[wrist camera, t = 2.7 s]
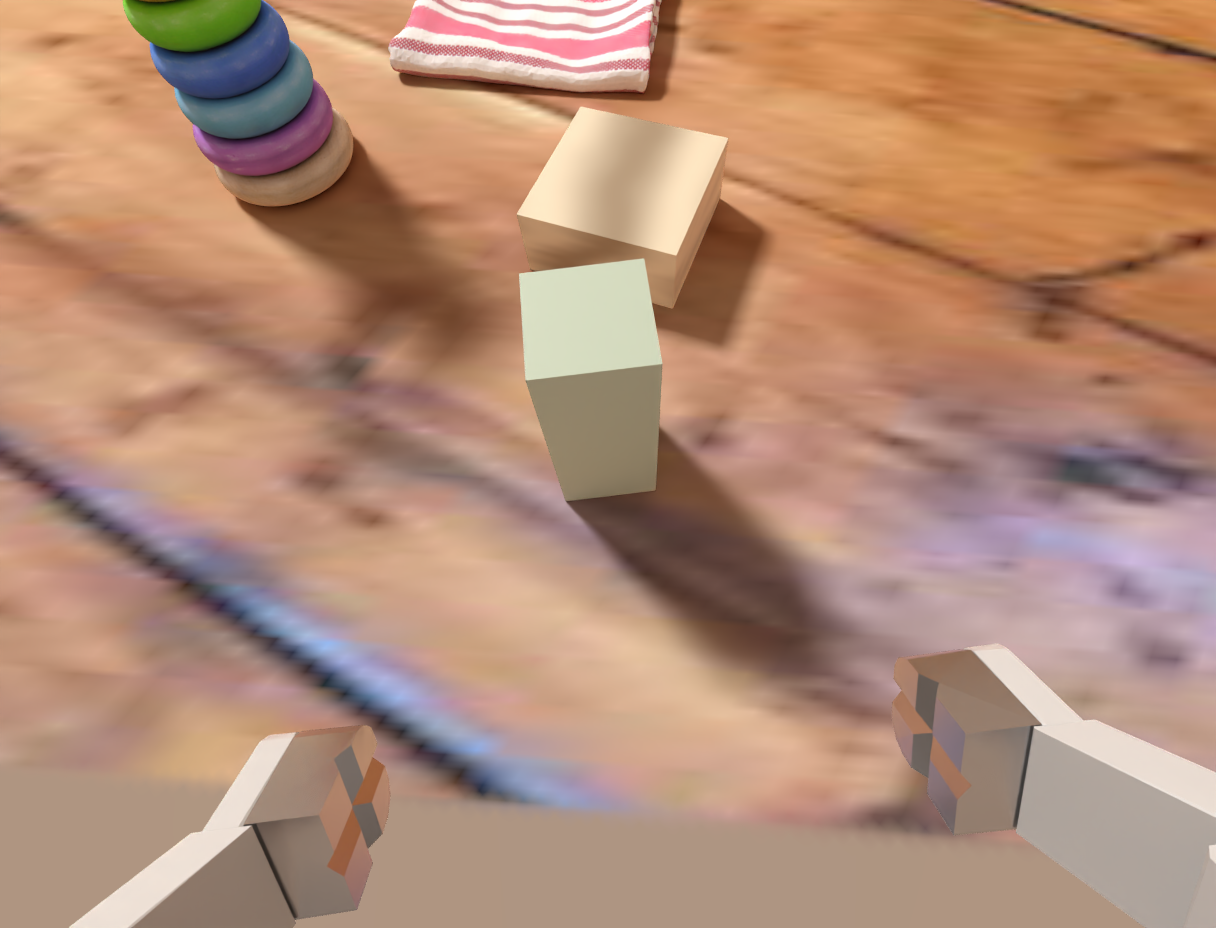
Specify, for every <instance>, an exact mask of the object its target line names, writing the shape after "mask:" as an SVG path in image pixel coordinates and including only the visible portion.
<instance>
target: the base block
mask: <svg viewBox="0 0 1216 928" xmlns="http://www.w3.org/2000/svg"><path fill="white" fill-rule="evenodd" d="M727 144H728V138H725V137H721V136H716V135H711V134H707V133H702V132H697V131H693V130H688V129H683V128H679V127H674V126H669V125H665V124H660V123H655V122H651V121H646V120H641V119H636V118H632V117H627V116H622V115H618V114H613V113H608V112H604V111H599V110H594V109H590V108H585V107H580V109H579V110H578V112H577V114H576V115H575V117H574V119H573V120H572V122H571V124H570V125H569V127H568V129H567V131H566V132H565V134H564V136H563V137H562V139H561V141H560V142H559V144H558V146H557V147H556V149H555V151H554V152H553V154H552V156H551V157H550V159H549V161H548V162H547V164H546V166H545V168H544V169H543V171H542V173H541V174H540V176H539V178H538V179H537V181H536V183H535V184H534V186H533V188H532V189H531V191H530V193H529V194H528V196H527V198H526V199H525V201H524V203H523V205H522V206H521V208H520V210H519V211H518V213H517V218H518V222H519V226H520V230H521V234H522V238H523V242H524V247H525V251H526V255H527V259H528V263H529V267H530V269H531V270H535V271H545V270H553V269H561V268H570V267H578V266H586V265H594V264H602V263H611V262H619V261H627V260H635V259H643V258H644V260H645V266H646V272H647V278H648V284H649V289H650V295H651V301H652V303H654V304H657V305H661V306H664V307H668V308H672V309H673V307H674V305H675V302H676V300H677V298H678V295H679V293H680V291H681V288H682V286H683V284H684V281H685V279H686V277H687V274H688V272H689V270H690V267H691V265H692V263H693V260H694V258H695V256H696V253H697V251H698V249H699V246H700V244H701V242H702V239H703V237H704V235H705V232H706V230H707V228H708V225H709V223H710V221H711V218H712V216H713V214H714V211H715V209H716V207H717V204H718V202H719V200H720V194H721V187H722V180H723V173H724V166H725V159H726V152H727Z"/></svg>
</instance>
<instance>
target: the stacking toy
mask: <svg viewBox="0 0 1216 928" xmlns="http://www.w3.org/2000/svg"><path fill="white" fill-rule="evenodd" d="M123 6H124V11H125V13H126V16H127V18H128V20H129V21H130V23H131V24H132V26H133V27H134V28H135V29H136V31H137V32H138V33H139V34H140V35H141V36H143V37H144V38H145V39H147V40H148V41H149V42H150V53H151V57H152V60H153V62H154V64H155V66H156V68H157V70H158V71H159V73H160V74H161V75H162V76H163V78H164V79H165V80H166V81H167V82H168V83H170V84H171V85H172V86H174V87H175V96H176V99H177V102H178V105H179V107H180V108H181V110H182V112H183V113H184V114H185V116H186V117H187V118H188V119H189V120H190V121H191V122H192V123H193V133H194V137H195V140H196V143H197V145H198V147H199V148H200V150H201V151H202V153H203V154H204V155H205V156H206V157H207V158H208V159H209V160H210V161H211V162H212V163H214V167H215V171H216V173H217V176H218V178H219V179H220V181H221V183H222V184H223V185H224V186H225V188H226V189H227V190H228V191H229V192H231V193H232V194H233V195H234V196H236V197H238V198H239V199H241V200H243V201H246V202H248V203H251V204H255V205H261V206H284V205H290V204H295V203H298V202H302V201H305V200H307V199H310V198H312V197H314V196H316V195H318V194H320V193H322V192H323V191H325V190H326V189H328V188H329V187H330V186H331V185H333V184H334V183H335V182H336V181H337V180H338V179H339V178H340V177H341V176H342V174H343V173H344V172H345V170H346V169H347V167H348V165H349V163H350V161H351V158H352V153H353V137H352V133H351V130H350V128H349V125H348V123H347V122H346V120H345V119H344V117H343V116H342V115H341V114H340V113H339V112H338V111H337V110H335V109H334V108H333V107H332V106H331V102H330V100H329V98H328V96H327V94H326V93H325V91H324V89H323V88H322V87H321V86H320V84H319V83H318V82H316V81H315V80H314V79H313V74H312V69H311V66H310V63H309V61H308V59H307V57H306V56H305V54H304V53H303V51H302V50H301V49H300V48H299V47H298V46H297V45H296V44H295V43H293V42H292V41H291V40H289V34H288V30H287V28H286V25H285V23H284V21H283V19H282V18H281V16H280V15H279V14H278V12H277V11H276V10H275V9H274V8H273V7H272V6H270V5H269V4H268V3H266V2H265V1H263V0H123Z"/></svg>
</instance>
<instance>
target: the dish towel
mask: <svg viewBox="0 0 1216 928" xmlns="http://www.w3.org/2000/svg"><path fill="white" fill-rule="evenodd" d="M661 1H662V0H416V2H415V4H414V6H413V9H412V13H411V16H410V18H409V20H408V23H407V25H406V26H405V28H404V29H403V30H402V32H401V33H399V34H398V35H396V36H395V37H394V38H393V39H392V40H391V42H390V44H389V47H388V48H389V51H390V53H391V57H390V64H391V66H392V68H393V69H394V70H395V71H398V72H402V73H406V74H410V75H417V76H424V77H433V78H444V79H446V78H448V79H459V80H468V81H480V82H487V83H498V84H510V85H520V86H530V87H537V88H544V89H554V90H563V91H571V92H638V93H642V94H643V93H644V92H645V89H646V87H647V82H648V79H649V70H650V59H651V55H652V53H653V50H654V42H655V39H656V34H657V26H658V20H659V7H660V4H661Z"/></svg>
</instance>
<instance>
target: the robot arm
mask: <svg viewBox="0 0 1216 928" xmlns="http://www.w3.org/2000/svg"><path fill="white" fill-rule="evenodd" d="M894 680H895V682H896V683H897V685H898V686H899V687H900V689H901V690H902V691H901V692H900V693H899V694H898V696H897V697H896V698H895V699H894V701H893V702H892V723H893V727H894V732H895V736H896V740H897V742H898V744H899V747H900V749H901V751H902V753H903V755H904V757H905V758H906V760H907V762H908V763H909V765H910V767H911V768H913V769H914V770H916V771H918V772H919V773H921V774H922V775H924V776H926V777H927V778H928V790H927V794H928V796H929V797H930V799H931V800H932V802H933V803H934V805H935V807H936V808H937V810H938V811H939V813H940V814H941V816H942V818H943V819H944V821H945V822H946V824H947V826H948V827H949V829H950V830H951V832H952V833H953V835H962V834H973V833H983V832H994V831H1004V830H1015V829H1017V830H1016V833H1017V834H1018V835H1020V836H1021V837H1023V838H1024V839H1025V840H1027V841H1028V842H1029V843H1031V844H1032V845H1033V846H1035V847H1036V848H1038V849H1039V850H1040V851H1042V852H1043V853H1044V854H1046V855H1047V856H1048V857H1050V858H1051V859H1053V860H1054V861H1055V862H1057V863H1058V864H1059V865H1061V866H1062V867H1063V868H1065V869H1066V870H1068V871H1069V872H1070V873H1072V874H1073V875H1075V876H1076V877H1077V878H1078V879H1080V880H1081V881H1083V882H1084V883H1085V884H1087V885H1088V886H1089V887H1091V888H1092V889H1094V890H1095V891H1096V892H1098V893H1099V894H1100V895H1102V896H1103V897H1104V898H1106V899H1107V900H1108V901H1110V902H1111V903H1113V904H1114V905H1115V906H1117V907H1118V908H1119V909H1121V910H1122V911H1123V912H1125V913H1126V914H1128V915H1129V916H1130V917H1132V918H1133V919H1134V920H1136V921H1137V922H1138V923H1140V924H1141V925H1143V926H1144V927H1145V928H1216V772H1213V771H1211V770H1209V769H1207V768H1204V767H1202V766H1200V765H1197V764H1195V763H1193V762H1191V761H1188V760H1186V759H1184V758H1181V757H1179V756H1177V755H1175V754H1172V753H1170V752H1168V751H1165V750H1163V749H1161V748H1159V747H1156V746H1154V745H1152V744H1149V743H1147V742H1145V741H1143V740H1140V739H1138V738H1136V737H1133V736H1131V735H1129V734H1127V733H1124V732H1122V731H1120V730H1118V729H1115V728H1113V727H1111V726H1108V725H1106V724H1104V723H1102V722H1099V721H1097V720H1086V721H1083V720H1082V719H1081V718H1080V717H1079V716H1078V715H1077V714H1076V713H1075V712H1074V711H1073V710H1072V709H1071V708H1070V707H1069V706H1068V705H1067V704H1066V703H1065V702H1064V701H1062V700H1061V699H1060V698H1059V697H1058V696H1057V695H1056V694H1055V693H1054V692H1053V691H1052V690H1051V689H1050V688H1049V687H1048V686H1047V685H1046V684H1045V683H1044V682H1042V681H1041V680H1040V679H1039V678H1038V677H1037V676H1036V675H1035V674H1034V673H1033V672H1032V671H1031V670H1030V669H1029V668H1028V667H1027V666H1026V665H1025V664H1024V663H1022V662H1021V661H1020V660H1019V659H1018V658H1017V657H1016V656H1015V655H1014V654H1013V653H1012V652H1011V651H1010V650H1009V649H1008V648H1006V647H1005V646H1002V645H1000V644H998V643H996V644H989V645H982V646H975V647H969V648H964V649H958V650H951V651H943V652H936V653H928V654H921V655H914V656H906V657H899V658H898V659H897V662H896V664H895V667H894ZM376 747H377V741H376V739H375V736H374V733H373V731H372V728H371V727H369V726H366V725H358V726H348V727H338V728H329V729H319V730H309V731H301V732H296V733H286V734H276V735H269V736H268V737H266V738H265V739H263V740H262V741H260V742H259V744H258V745H257V747H256V748H255V750H254V751H253V753H252V755H251V756H250V758H249V759H248V761H247V762H246V764H245V765H244V767H243V769H242V770H241V772H240V773H239V775H238V776H237V778H236V779H235V781H234V783H233V784H232V786H231V787H230V789H229V790H228V792H227V793H226V795H225V797H224V798H223V800H222V801H221V803H220V805H219V806H218V807H217V809H216V811H215V812H214V814H213V815H212V817H211V818H210V820H209V822H208V823H207V825H206V826H205V828H204V829H203V831H202V832H196V833H191V834H189V835H188V836H187V837H186V838H184V839H183V840H182V841H180V842H179V843H178V844H176V845H175V846H174V847H172V848H171V849H170V850H169V851H167V852H166V853H165V854H163V855H162V856H161V857H160V858H158V859H157V860H156V861H154V862H153V863H152V864H150V865H149V866H148V867H147V868H145V869H144V870H143V871H141V872H140V873H139V874H138V875H136V876H135V877H134V878H132V879H131V880H130V881H128V882H127V883H126V884H125V885H123V886H122V887H121V888H119V889H118V890H117V891H115V892H114V893H113V894H112V895H110V896H109V897H108V898H106V899H105V900H104V901H102V902H101V903H100V904H99V905H97V906H96V907H95V908H93V909H92V910H91V911H89V912H88V913H87V914H86V915H84V916H83V917H82V918H81V919H79V920H78V921H76V922H75V923H74V924H73V925H71V926H70V927H69V928H293V927H294V925H295V924H296V922H295V920H297V919H303V918H310V917H316V916H323V915H329V914H335V913H341V912H348V911H354V910H357V909H358V905H359V903H360V900H361V896H362V894H363V891H364V888H365V885H366V882H367V879H368V876H369V873H370V870H371V867H372V864H373V862H372V859H371V856H370V854H369V851H368V848H369V847H370V846H371V845H372V844H373V843H374V842H375V841H376V840H377V839H378V838H379V837H380V836H381V835H382V834H383V831H384V827H385V824H386V821H387V818H388V813H389V804H390V785H389V778H388V774H387V771H386V768H385V766H384V765H383V764H381V763H380V762H379V761H377V760H376V759H374V758H373V754H374V752H375V749H376Z"/></svg>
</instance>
